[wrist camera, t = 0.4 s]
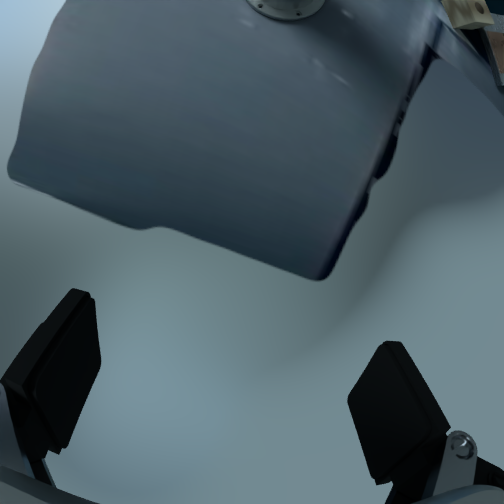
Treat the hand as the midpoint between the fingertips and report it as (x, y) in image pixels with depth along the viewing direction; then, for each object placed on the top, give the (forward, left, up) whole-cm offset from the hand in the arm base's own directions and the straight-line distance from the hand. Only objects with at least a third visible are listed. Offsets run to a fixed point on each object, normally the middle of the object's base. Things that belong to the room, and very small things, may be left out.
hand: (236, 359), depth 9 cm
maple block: (-19, +50, -37) cm, 65 cm away
